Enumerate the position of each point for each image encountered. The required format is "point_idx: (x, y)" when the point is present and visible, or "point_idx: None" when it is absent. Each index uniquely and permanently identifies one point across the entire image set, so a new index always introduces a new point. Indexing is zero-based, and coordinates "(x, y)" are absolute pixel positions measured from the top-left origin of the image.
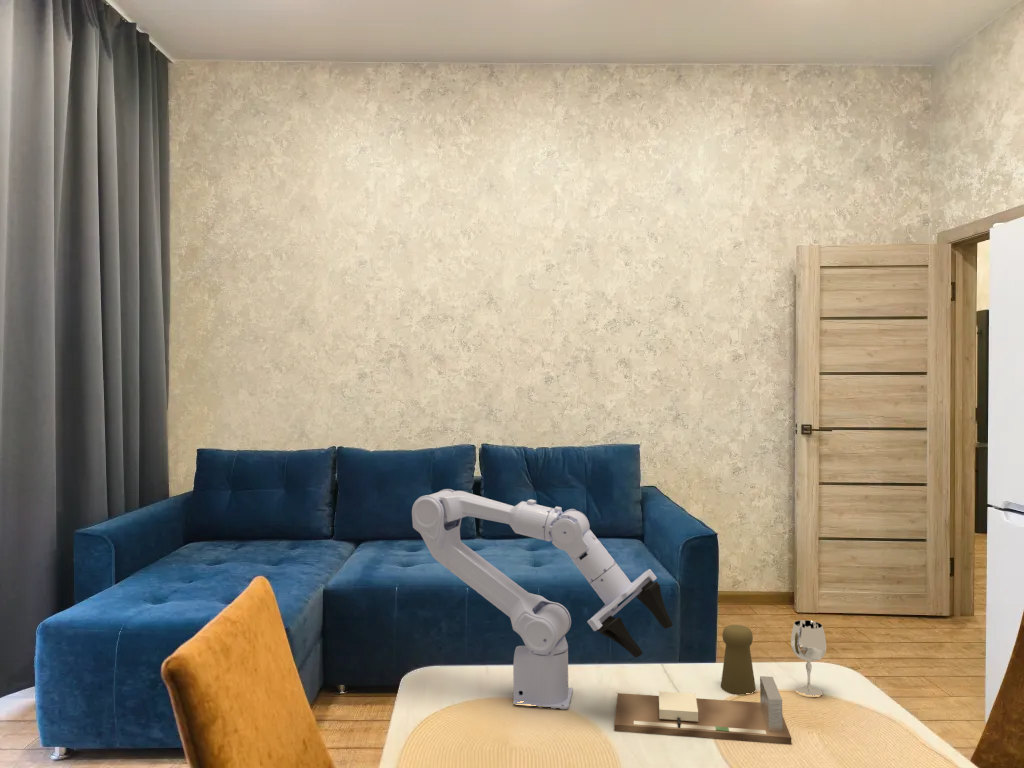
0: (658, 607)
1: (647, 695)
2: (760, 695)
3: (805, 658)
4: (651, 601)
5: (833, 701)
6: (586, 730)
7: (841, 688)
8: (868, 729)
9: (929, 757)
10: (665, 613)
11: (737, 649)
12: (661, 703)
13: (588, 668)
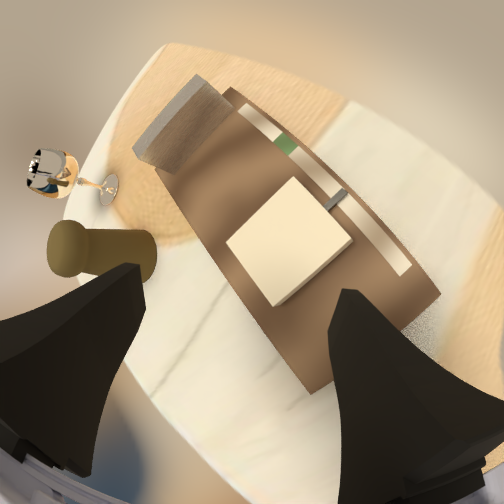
0: (79, 321)
1: (274, 342)
2: (162, 168)
3: (77, 168)
4: (63, 377)
5: (114, 159)
6: (472, 332)
7: (90, 180)
8: (151, 95)
9: (173, 45)
10: (94, 285)
11: (90, 237)
12: (322, 256)
13: (245, 484)
